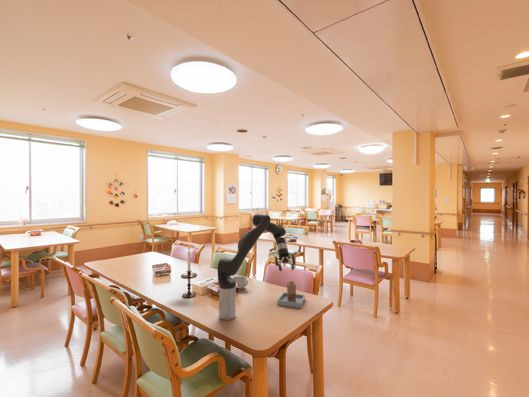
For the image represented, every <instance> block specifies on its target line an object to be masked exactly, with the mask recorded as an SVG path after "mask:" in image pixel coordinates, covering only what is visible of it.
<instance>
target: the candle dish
mask: <svg viewBox="0 0 529 397" xmlns="http://www.w3.org/2000/svg"><path fill="white" fill-rule="evenodd" d="M276 301H277V303H276V304H277V306H282V307H290V308H295V307H296V308H297V309H301V308H302V307H303V304H304V302H305V301H306V295H305V294H300V293H296V302H290V301H288V300H287V292H285V291H284V292H282V294H281V295H280V296H279V297H278V298H277V300H276Z"/></svg>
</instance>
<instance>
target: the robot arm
mask: <svg viewBox="0 0 529 397" xmlns="http://www.w3.org/2000/svg"><path fill="white" fill-rule="evenodd" d="M251 221H252V224H253V226H255V227H253V228H252V229H250V230H248V231H245V233H243V235H242V236H241V237H240V238H239V240H238V242H237V252H236V254H235V256H234V257H232V258H228V257H222V258H220V260H219V261H218V263H217V281H218V284H219V285H218V286H219V291H218V292H219V293H218V294H219V296H218V297H219V300H218V319H219V320H223V321H224V320H226V321H230V320H232V319H234V318H236V316H237V315H236V310H237V309H236V306H237V305H236V304H237V303H236V295H237V293H236V290H237V289H236V283H235V281H234V280H233V279H232V278H233V277H234V276H235V275H236V274H237V273H238V271H239V270H240V268H241V267H242V265H243V263H244V260H245V259H246V257H247V256H248V255H249V252H250V251H251V250H252V248H254V245H255V244H256V242H257V241H258V240H259V238H260V237H261V236H262V234H263V233H264V232H265V231H267V232H269V233H270V234H271V235H272V236H273V239H274V240H275V241H276V250H277V255H278V257H277V256H275V257H274V263H275V266H276V267H278V270H279V271H280V272H282V270H283V269H282V264H289V265H290V268H291V271H292V272H293V271H294V269H295V266H296V264H297V263H296V259H295V257H294V255H292V256H290V253H289V249H288V246H287V242H286V238H285V237H284V236H286V234H287V230H286V228H284V227H283V226H281V225H277V224H275V223H273V222H271V221H272V220H271V216H270V215H269V214H265V213H255V214H254V215H253V217H252V220H251ZM278 261H279V262H278Z"/></svg>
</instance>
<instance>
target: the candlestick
mask: <svg viewBox="0 0 529 397" xmlns="http://www.w3.org/2000/svg"><path fill="white" fill-rule="evenodd" d="M187 248H188V251H187V270H186V272H185V273H182V274H181V275H180V278H181V279H184V280H187V284H186V286H187V291H186V292H184V293H183V294H182V296H181V297H182V298H184V299H192V298H195V297H196V292H194V291H191V288H192V287H191V286H192V283H191V279H195V278H197V277H198V274H197V272H192V271H193V270H191V261H192V260H191V250H190V246H188V247H187Z"/></svg>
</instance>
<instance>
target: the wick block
mask: <svg viewBox="0 0 529 397" xmlns="http://www.w3.org/2000/svg"><path fill="white" fill-rule="evenodd" d="M286 284H287V285H286V293H287V300H288V301H290V302H296V294H297V285H296V283H295V281H294V280H289V281H288V282H287V283H286Z"/></svg>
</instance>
